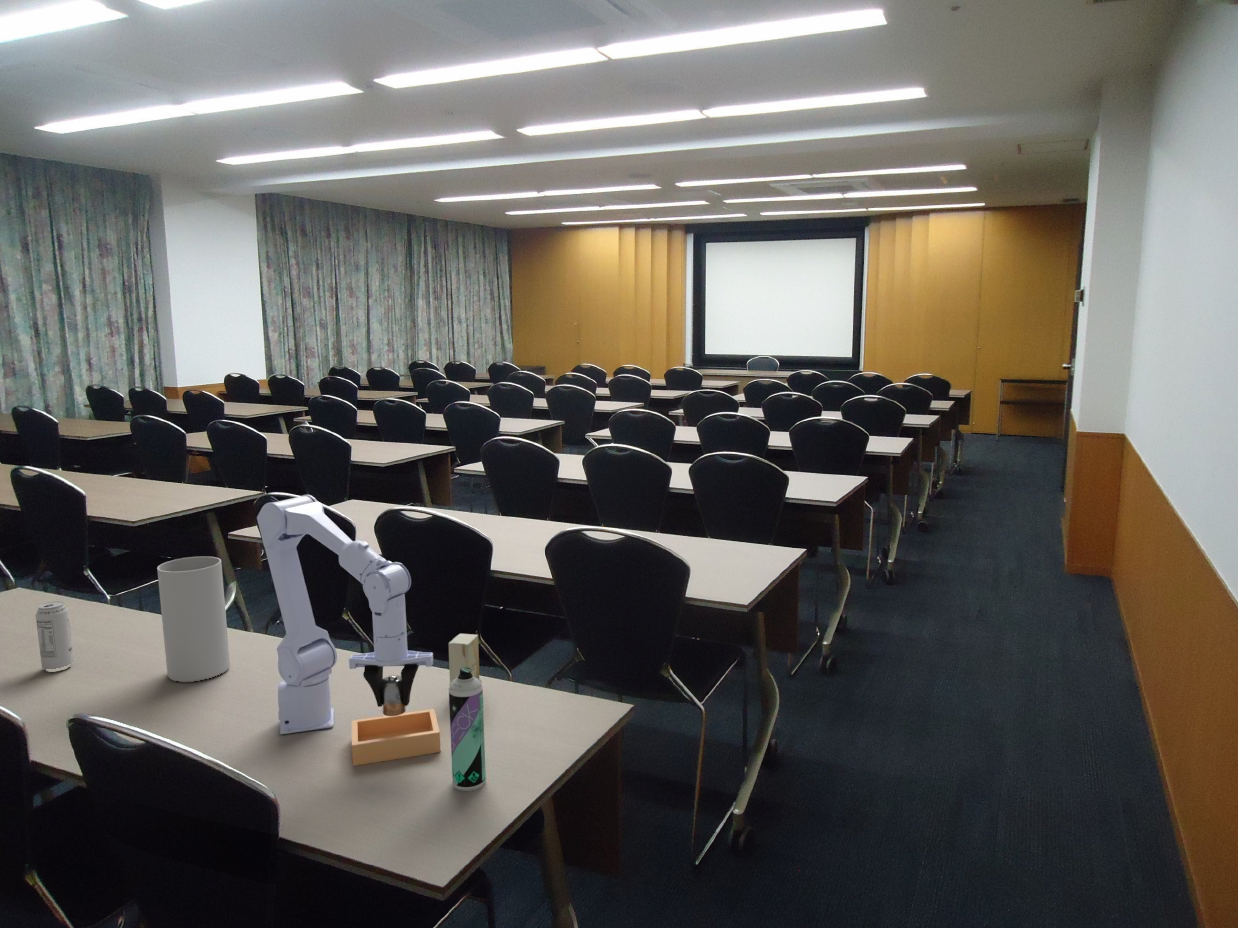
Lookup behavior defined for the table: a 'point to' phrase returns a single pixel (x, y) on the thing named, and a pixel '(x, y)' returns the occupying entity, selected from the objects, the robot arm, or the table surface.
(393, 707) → the cell
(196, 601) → the cylinder vase
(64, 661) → the energy drink can
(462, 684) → the spray can
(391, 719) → the trough
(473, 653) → the skincare box
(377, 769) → the table surface
